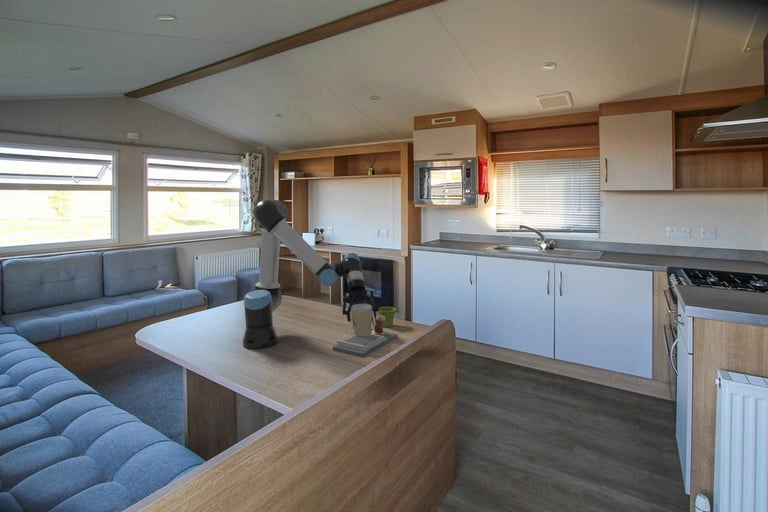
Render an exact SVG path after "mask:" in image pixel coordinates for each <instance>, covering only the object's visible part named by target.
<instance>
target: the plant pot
mask: <svg viewBox="0 0 768 512" xmlns="http://www.w3.org/2000/svg"><path fill="white" fill-rule="evenodd" d="M396 310H397V309H396V307H392V306H382V307H379V310H378V315H382V316H385V320H384V321H383V328H386V327H387V328H392V326H394V319H395V313H396Z"/></svg>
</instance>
